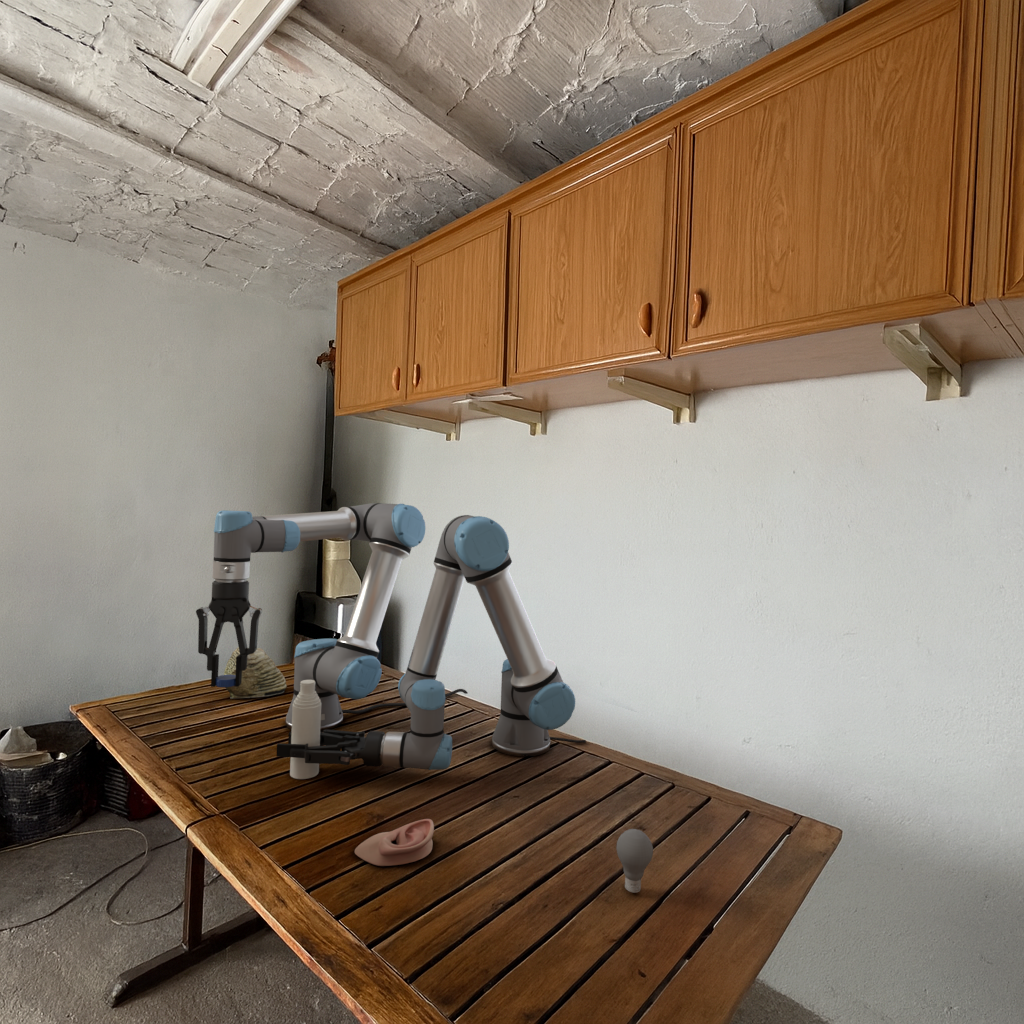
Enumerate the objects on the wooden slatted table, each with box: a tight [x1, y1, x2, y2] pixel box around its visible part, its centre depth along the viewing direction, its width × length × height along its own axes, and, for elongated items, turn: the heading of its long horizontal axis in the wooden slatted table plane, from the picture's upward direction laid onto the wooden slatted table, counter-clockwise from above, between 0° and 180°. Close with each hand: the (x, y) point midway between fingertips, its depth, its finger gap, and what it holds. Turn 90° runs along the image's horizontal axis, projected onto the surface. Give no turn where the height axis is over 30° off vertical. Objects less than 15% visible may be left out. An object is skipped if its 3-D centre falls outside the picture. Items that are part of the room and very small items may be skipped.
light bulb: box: [615, 828, 654, 894], centre depth 106 cm, size 6×6×10 cm
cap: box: [215, 674, 236, 688], centre depth 141 cm, size 4×4×2 cm
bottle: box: [289, 680, 321, 780], centre depth 144 cm, size 6×6×21 cm
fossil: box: [223, 646, 288, 699], centre depth 198 cm, size 9×18×15 cm, turn 132°
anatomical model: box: [354, 818, 435, 867], centre depth 115 cm, size 13×4×12 cm
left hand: (226, 684), depth 141 cm, fingers closed on cap, 4 cm apart
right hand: (283, 743), depth 145 cm, fingers closed on bottle, 6 cm apart
